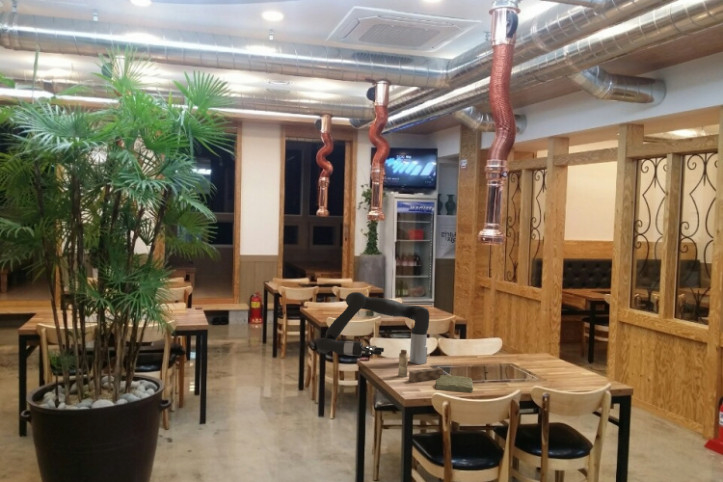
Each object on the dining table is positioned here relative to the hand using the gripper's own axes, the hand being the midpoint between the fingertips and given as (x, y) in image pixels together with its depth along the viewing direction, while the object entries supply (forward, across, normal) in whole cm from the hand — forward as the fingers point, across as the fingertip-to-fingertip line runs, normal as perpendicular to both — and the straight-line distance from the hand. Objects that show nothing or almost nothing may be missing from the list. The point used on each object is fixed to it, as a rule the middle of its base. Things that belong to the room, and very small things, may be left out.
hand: (382, 351), depth 341 cm
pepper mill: (+12, 0, +12) cm, 17 cm away
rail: (+24, -2, +12) cm, 27 cm away
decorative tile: (+39, -10, +13) cm, 42 cm away
